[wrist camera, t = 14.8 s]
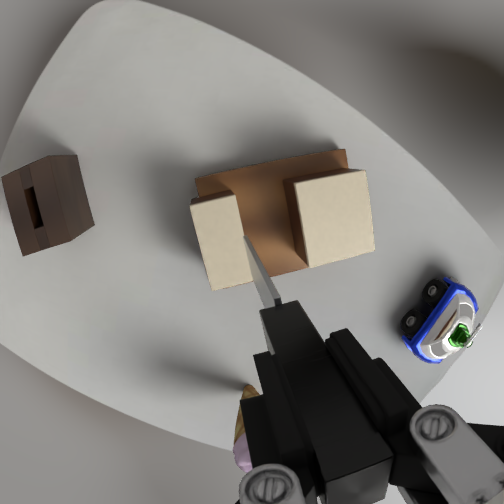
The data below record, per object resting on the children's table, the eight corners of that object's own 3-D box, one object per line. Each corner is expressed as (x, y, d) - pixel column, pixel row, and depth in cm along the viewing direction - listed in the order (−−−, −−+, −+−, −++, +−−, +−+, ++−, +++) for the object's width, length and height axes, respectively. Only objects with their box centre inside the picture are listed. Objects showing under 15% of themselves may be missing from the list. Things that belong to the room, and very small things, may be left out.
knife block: (33, 172, 30) (1, 177, 23) (77, 154, 30) (48, 155, 23) (51, 238, 32) (22, 256, 25) (94, 225, 32) (71, 241, 26)
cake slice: (191, 198, 32) (189, 206, 27) (230, 189, 32) (235, 194, 27) (210, 272, 34) (211, 291, 29) (247, 263, 35) (254, 281, 30)
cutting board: (195, 178, 33) (194, 178, 31) (339, 148, 34) (345, 148, 32) (221, 284, 36) (222, 289, 35) (354, 250, 38) (359, 254, 36)
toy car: (466, 293, 43) (505, 318, 34) (422, 355, 45) (455, 388, 36) (438, 265, 40) (482, 290, 31) (389, 335, 42) (424, 371, 33)
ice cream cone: (281, 374, 41) (312, 459, 27) (268, 407, 43) (291, 490, 28) (231, 368, 40) (246, 459, 26) (221, 403, 41) (232, 491, 27)
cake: (281, 179, 33) (295, 183, 28) (344, 167, 33) (365, 170, 28) (295, 253, 35) (309, 268, 30) (354, 238, 35) (375, 250, 31)
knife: (233, 238, 22) (322, 475, 5) (256, 232, 22) (397, 447, 5) (242, 278, 23) (327, 524, 6) (264, 273, 23) (384, 503, 6)
